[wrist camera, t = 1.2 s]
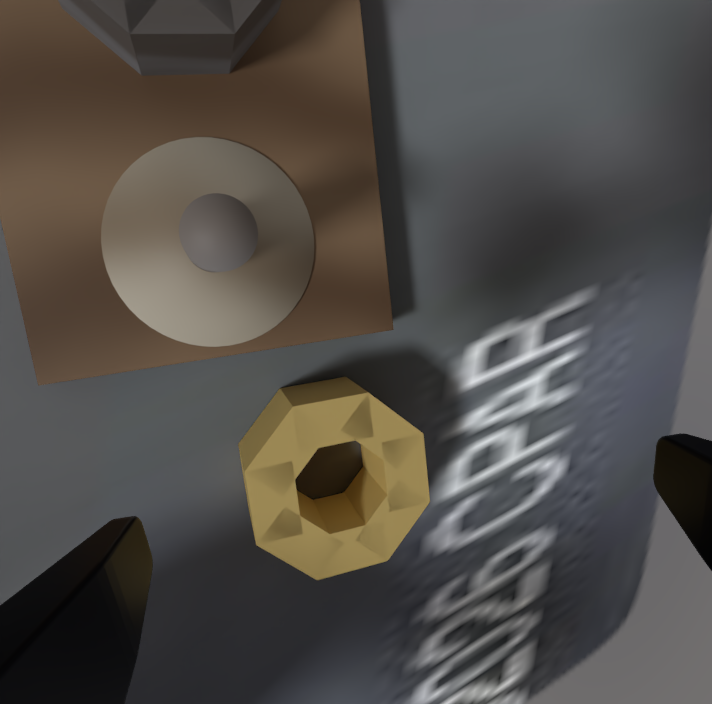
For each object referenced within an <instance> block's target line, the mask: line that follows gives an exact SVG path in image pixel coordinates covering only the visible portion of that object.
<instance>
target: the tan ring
mask: <svg viewBox="0 0 712 704" xmlns="http://www.w3.org/2000/svg"><path fill="white" fill-rule="evenodd" d="M355 440H356V441H357V442H359V443H360V445H361V453H362V461H363V467H362V468H361V470H360V471H359V473H358V474H357V475H356V477H355V478H354V479H353V481H352V482H351V484H350V485H349V486H348V488H347V489H346V490H345V492H344V493H340V494H335V495H331V496H327V497H323V498H318V499H314V500H312V499H310V498H309V497H307V496H306V495H304V494H303V493H301V492H299V491H298V490H296V483H295V479H296V478H297V476H298V475H299V474H300V472H301V471H302V470H303V468H304V467H305V466H306V464H307V463H308V462H309V460H310V459H311V457H312V456H313V455H314V453H315V452H316V451H317V449H318V448H321V447H326V446H331V445H336V444H340V443H345V442H350V441H355ZM238 446H239V452H240V458H241V464H242V471H243V477H244V483H245V489H246V495H247V502H248V508H249V513H250V518H251V522H252V527H253V532H254V537H255V541H256V545H257V546H259V547H260V548H262V549H264V550H266V551H267V552H269V553H271V554H272V555H274V556H276V557H278V558H279V559H281V560H283V561H285V562H286V563H288V564H290V565H291V566H293V567H295V568H297V569H298V570H300V571H302V572H304V573H305V574H307V575H309V576H311V577H312V578H314V579H316V580H320V579H324V578H328V577H331V576H335V575H339V574H342V573H346V572H350V571H353V570H357V569H360V568H364V567H368V566H371V565H375V564H379V563H382V562H386V561H388V560H389V558H390V557H391V556H392V554H393V553H394V551H395V550H396V549H397V547H398V546H399V544H400V543H401V542H402V540H403V539H404V537H405V536H406V535H407V533H408V532H409V530H410V529H411V528H412V526H413V525H414V523H415V522H416V521H417V519H418V518H419V516H420V515H421V514H422V512H423V511H424V509H425V508H426V507H427V505H428V504H429V502H430V497H429V486H428V476H427V465H426V455H425V445H424V434H423V433H422V432H421V431H419V430H418V429H417V428H415V427H414V426H413V425H411V424H410V423H409V422H407V421H406V420H405V419H403V418H402V417H401V416H399V415H398V414H397V413H395V412H394V411H393V410H391V409H390V408H389V407H387V406H386V405H385V404H383V403H382V402H381V401H379V400H378V399H376V398H375V397H374V396H372V395H371V394H370V393H369V392H367V391H366V390H364V389H363V388H361V387H360V386H359V385H357V384H356V383H354V382H353V381H351V380H350V379H349V378H347V377H341V378H335V379H330V380H324V381H318V382H313V383H307V384H301V385H296V386H290V387H284V388H280V389H279V390H278V392H277V393H276V394H275V396H274V397H273V398H272V400H271V401H270V402H269V404H268V405H267V406H266V408H265V409H264V410H263V412H262V413H261V414H260V416H259V417H258V418H257V420H256V421H255V422H254V424H253V425H252V426H251V428H250V429H249V430H248V432H247V433H246V434H245V436H244V437H243V438H242V440H241V441H240V442H239V444H238Z"/></svg>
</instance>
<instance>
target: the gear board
mask: <svg viewBox="0 0 712 704" xmlns="http://www.w3.org/2000/svg"><path fill="white" fill-rule="evenodd" d="M0 218H1V223H2V227H3V232H4V236H5V240H6V245H7V249H8V254H9V258H10V263H11V267H12V271H13V276H14V280H15V285H16V289H17V293H18V298H19V302H20V307H21V311H22V316H23V320H24V324H25V329H26V333H27V338H28V342H29V347H30V351H31V355H32V360H33V364H34V369H35V373H36V377H37V382H38V385H44V384H50V383H57V382H63V381H70V380H76V379H82V378H89V377H95V376H102V375H108V374H114V373H121V372H127V371H133V370H140V369H146V368H153V367H159V366H165V365H172V364H178V363H184V362H191V361H197V360H204V359H210V358H216V357H223V356H229V355H236V354H242V353H248V352H255V351H261V350H267V349H274V348H280V347H287V346H293V345H299V344H306V343H312V342H319V341H325V340H331V339H338V338H344V337H350V336H357V335H363V334H370V333H376V332H382V331H389V330H393V320H392V310H391V300H390V291H389V281H388V271H387V261H386V252H385V242H384V232H383V222H382V213H381V203H380V193H379V184H378V174H377V164H376V154H375V145H374V135H373V125H372V115H371V106H370V96H369V86H368V77H367V67H366V57H365V47H364V38H363V28H362V18H361V8H360V0H0Z"/></svg>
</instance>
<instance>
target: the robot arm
mask: <svg viewBox="0 0 712 704" xmlns="http://www.w3.org/2000/svg"><path fill="white" fill-rule="evenodd" d="M653 479H654V484H655V487H656V490H657V491H658V493H659V495H660V496H661V498H662V499H663V501H664V502H665V504H666V505H667V507H668V508H669V510H670V511H671V513H672V514H673V515H674V517H675V518H676V520H677V521H678V523H679V524H680V526H681V527H682V529H683V530H684V532H685V533H686V535H687V536H688V538H689V539H690V541H691V542H692V544H693V545H694V547H695V548H696V550H697V551H698V553H699V554H700V556H701V557H702V558H703V560H704V561H705V562H706V564H707V565H708V567H709V568H710V569H711V571H712V441H709V440H706V439H702V438H699V437H695V436H691V435H688V434H675V435H669V436H663V437H661V438H660V439H659V440H658V442H657V445H656V454H655V464H654V474H653ZM152 567H153V561H152V555H151V551H150V548H149V545H148V541H147V538H146V535H145V531H144V528H143V525H142V522H141V521H140V519H139V518H138V517H136V516H131V517H125V518H118V519H113V520H111V521H109V522H108V523H107V524H106V525H104V526H103V527H102V528H100V529H99V530H98V531H96V532H95V533H94V534H93V535H91V536H90V537H89V538H87V539H86V540H85V541H83V542H82V543H81V544H80V545H78V546H77V547H76V548H74V549H73V550H72V551H70V552H69V553H68V554H67V555H65V556H64V557H63V558H61V559H60V560H59V561H57V562H56V563H55V564H54V565H52V566H51V567H50V568H48V569H47V570H46V571H44V572H43V573H42V574H41V575H39V576H38V577H37V578H35V579H34V580H33V581H31V582H30V583H29V584H28V585H26V586H25V587H24V588H22V589H21V590H20V591H18V592H17V593H16V594H15V595H13V596H12V597H11V598H9V599H8V600H7V601H5V602H4V603H3V604H2V605H0V704H124V702H125V699H126V695H127V692H128V688H129V685H130V681H131V678H132V674H133V670H134V667H135V663H136V659H137V654H138V649H139V644H140V638H141V632H142V627H143V621H144V615H145V609H146V604H147V598H148V592H149V586H150V580H151V575H152Z"/></svg>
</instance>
